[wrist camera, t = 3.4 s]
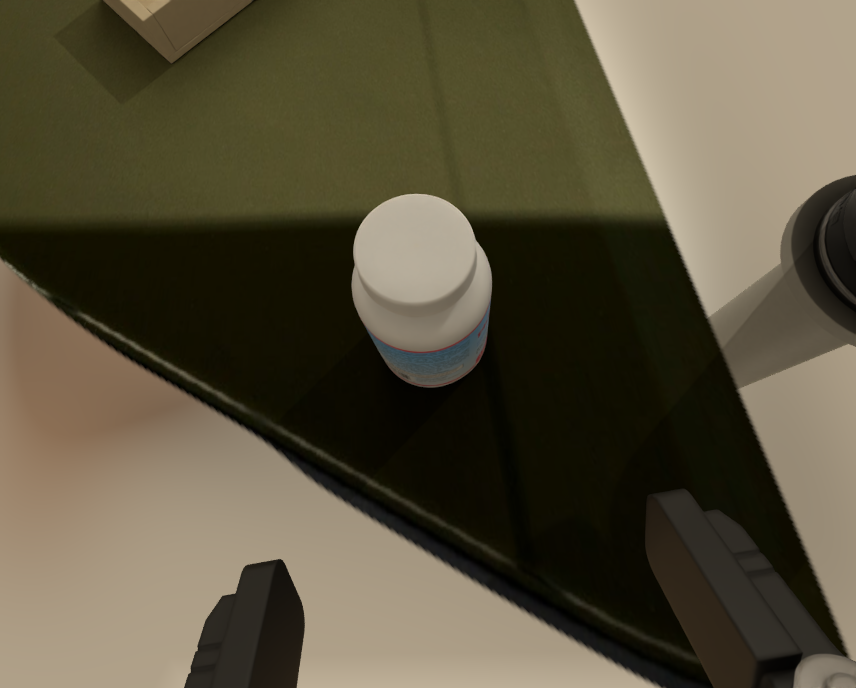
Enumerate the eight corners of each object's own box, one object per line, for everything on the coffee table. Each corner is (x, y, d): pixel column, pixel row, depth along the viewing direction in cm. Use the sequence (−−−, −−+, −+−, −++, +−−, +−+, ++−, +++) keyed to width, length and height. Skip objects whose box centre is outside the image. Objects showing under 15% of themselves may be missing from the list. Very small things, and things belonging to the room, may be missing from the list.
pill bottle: (503, 364, 30) (525, 287, 19) (401, 405, 29) (365, 351, 19) (461, 272, 31) (459, 153, 21) (365, 311, 31) (312, 210, 20)
